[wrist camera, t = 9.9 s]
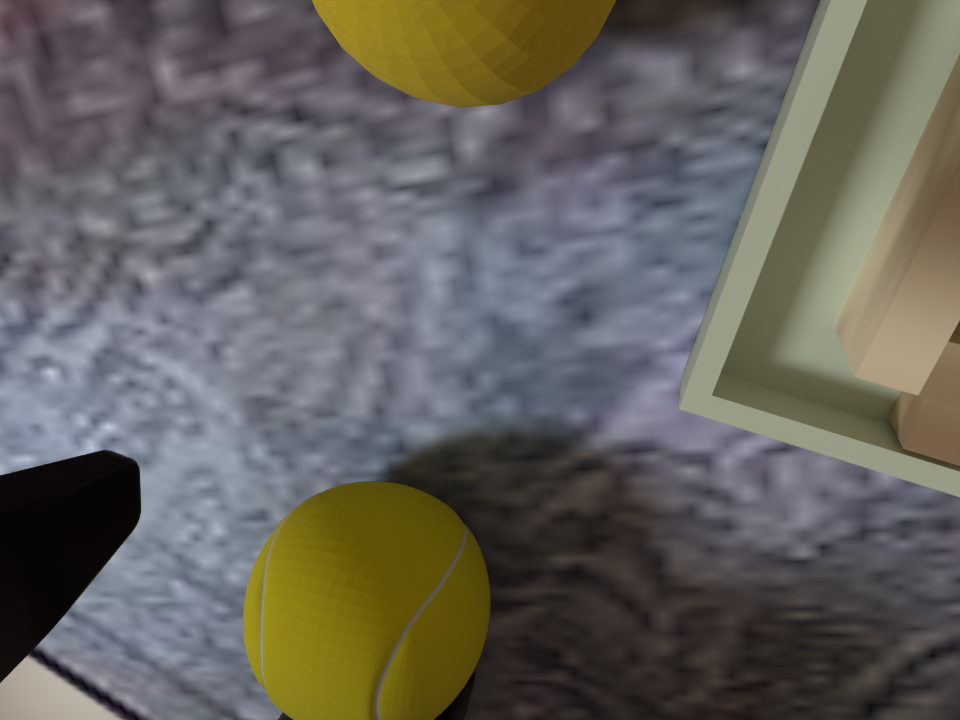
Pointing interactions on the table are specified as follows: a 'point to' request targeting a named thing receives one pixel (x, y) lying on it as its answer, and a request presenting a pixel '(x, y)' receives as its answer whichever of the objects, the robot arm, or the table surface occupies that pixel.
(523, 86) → the lemon
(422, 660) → the tennis ball
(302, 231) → the table surface
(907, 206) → the wooden rectangular frame
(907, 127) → the tray
